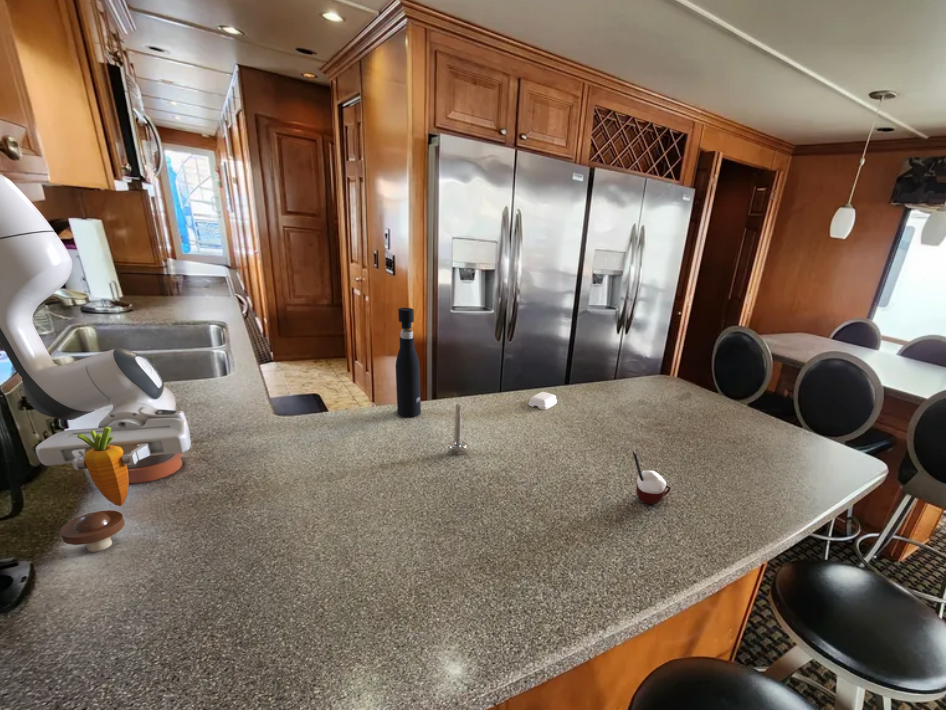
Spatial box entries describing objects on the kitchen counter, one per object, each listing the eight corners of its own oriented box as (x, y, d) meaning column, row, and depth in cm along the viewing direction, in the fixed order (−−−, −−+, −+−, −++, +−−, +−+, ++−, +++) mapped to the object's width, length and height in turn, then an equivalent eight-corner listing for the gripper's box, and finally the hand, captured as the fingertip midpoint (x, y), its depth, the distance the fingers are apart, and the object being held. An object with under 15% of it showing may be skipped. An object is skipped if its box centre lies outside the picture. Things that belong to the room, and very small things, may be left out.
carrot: (94, 515, 78) (66, 436, 72) (111, 498, 82) (86, 423, 77) (130, 512, 79) (105, 435, 74) (145, 496, 84) (122, 422, 78)
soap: (540, 397, 155) (541, 389, 154) (558, 402, 152) (559, 394, 151) (526, 405, 147) (527, 396, 146) (545, 410, 144) (545, 401, 143)
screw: (462, 458, 111) (444, 454, 112) (470, 450, 115) (452, 446, 116) (463, 408, 106) (444, 405, 107) (471, 402, 110) (453, 398, 111)
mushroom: (56, 554, 71) (43, 522, 68) (108, 528, 77) (98, 498, 75) (91, 565, 69) (79, 533, 67) (140, 538, 75) (131, 507, 73)
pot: (92, 476, 90) (88, 462, 88) (155, 451, 100) (152, 438, 99) (139, 489, 87) (135, 475, 86) (199, 462, 98) (196, 449, 97)
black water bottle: (397, 409, 134) (393, 306, 123) (420, 408, 136) (418, 307, 125) (397, 418, 129) (392, 310, 117) (421, 417, 130) (418, 311, 119)
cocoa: (667, 496, 103) (678, 449, 99) (667, 512, 98) (678, 462, 93) (626, 488, 105) (634, 441, 100) (623, 502, 99) (632, 453, 95)
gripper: (52, 419, 82) (9, 454, 71) (193, 410, 91) (175, 440, 80) (63, 450, 85) (24, 489, 73) (199, 438, 94) (183, 471, 82)
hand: (104, 463), depth 77 cm, fingers closed on carrot, 5 cm apart
